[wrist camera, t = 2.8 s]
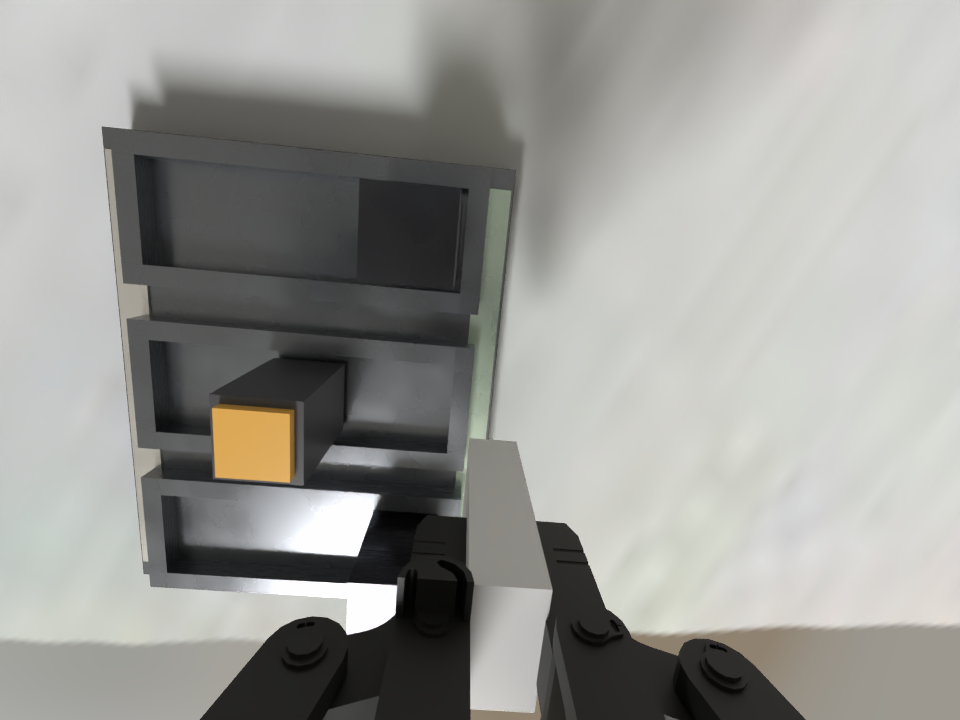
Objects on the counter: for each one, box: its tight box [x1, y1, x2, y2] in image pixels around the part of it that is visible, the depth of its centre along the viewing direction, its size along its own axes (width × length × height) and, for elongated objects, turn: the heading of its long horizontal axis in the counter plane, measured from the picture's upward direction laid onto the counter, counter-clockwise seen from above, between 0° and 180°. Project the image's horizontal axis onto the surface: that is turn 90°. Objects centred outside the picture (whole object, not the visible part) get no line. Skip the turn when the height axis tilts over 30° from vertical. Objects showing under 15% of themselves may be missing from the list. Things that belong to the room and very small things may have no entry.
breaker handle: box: [209, 358, 345, 485], centre depth 17 cm, size 3×3×5 cm
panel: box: [102, 127, 516, 635], centre depth 18 cm, size 20×16×6 cm
